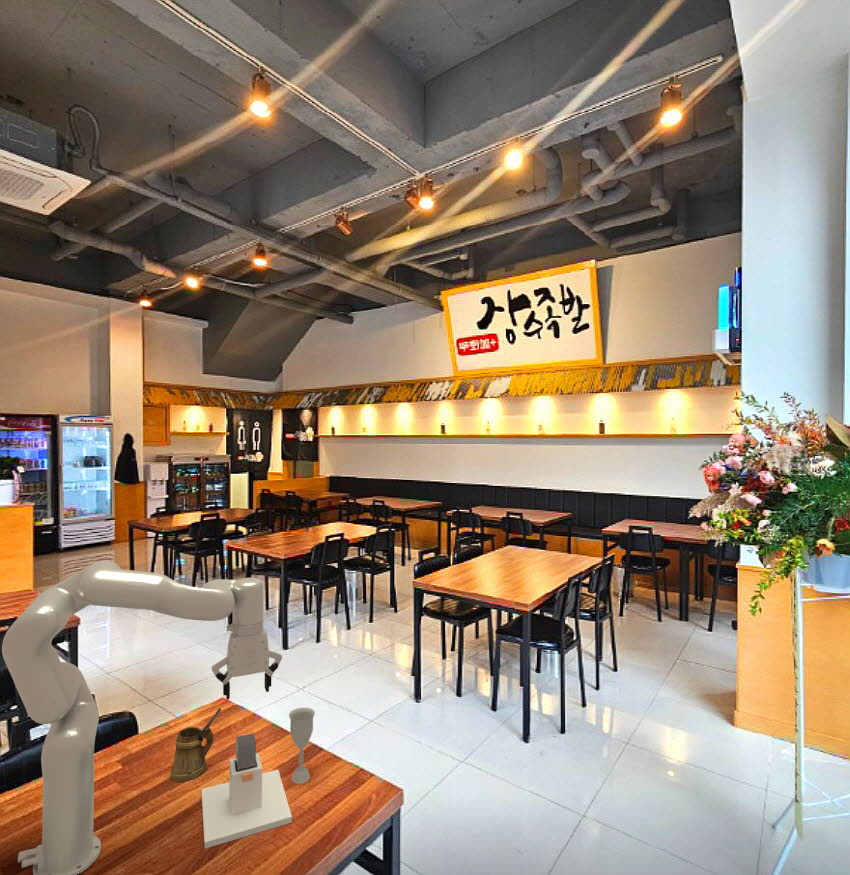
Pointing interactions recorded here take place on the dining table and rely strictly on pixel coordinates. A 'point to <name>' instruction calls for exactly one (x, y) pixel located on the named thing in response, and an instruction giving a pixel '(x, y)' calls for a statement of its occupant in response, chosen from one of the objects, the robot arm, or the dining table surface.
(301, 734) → the chalice
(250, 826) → the stand
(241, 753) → the column
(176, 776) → the wooden mug
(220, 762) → the dining table surface
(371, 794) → the dining table surface
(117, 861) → the dining table surface
